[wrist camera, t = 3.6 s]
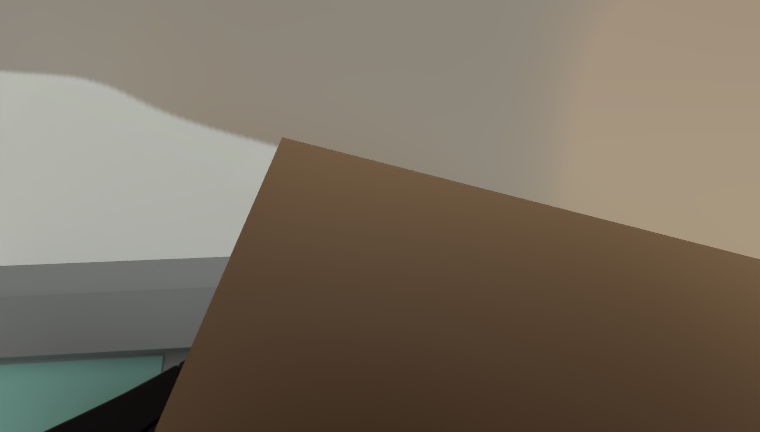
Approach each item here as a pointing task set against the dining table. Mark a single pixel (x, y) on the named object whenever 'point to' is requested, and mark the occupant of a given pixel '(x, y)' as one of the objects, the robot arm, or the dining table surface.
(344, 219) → the walnut pillar
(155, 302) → the base slab
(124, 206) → the dining table surface
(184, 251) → the dining table surface
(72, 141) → the dining table surface
